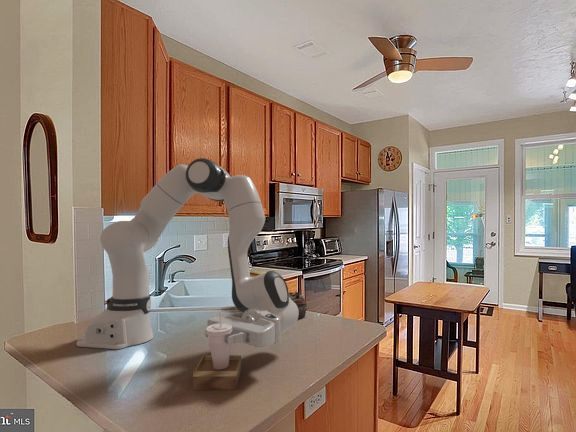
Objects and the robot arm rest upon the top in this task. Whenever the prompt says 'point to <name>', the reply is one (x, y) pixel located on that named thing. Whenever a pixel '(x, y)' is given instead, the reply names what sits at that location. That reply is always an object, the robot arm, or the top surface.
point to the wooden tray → (216, 374)
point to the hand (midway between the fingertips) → (216, 337)
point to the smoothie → (219, 343)
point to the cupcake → (299, 303)
